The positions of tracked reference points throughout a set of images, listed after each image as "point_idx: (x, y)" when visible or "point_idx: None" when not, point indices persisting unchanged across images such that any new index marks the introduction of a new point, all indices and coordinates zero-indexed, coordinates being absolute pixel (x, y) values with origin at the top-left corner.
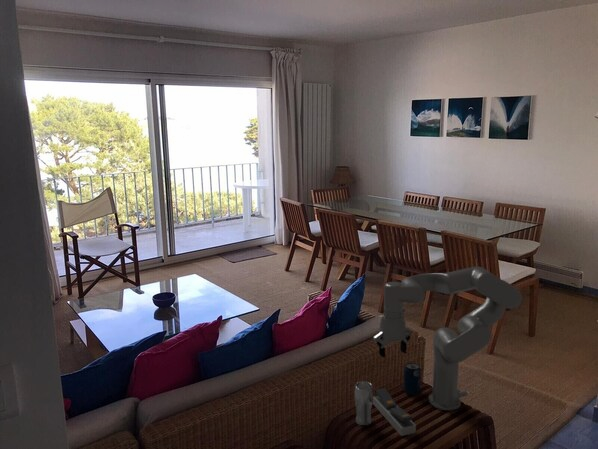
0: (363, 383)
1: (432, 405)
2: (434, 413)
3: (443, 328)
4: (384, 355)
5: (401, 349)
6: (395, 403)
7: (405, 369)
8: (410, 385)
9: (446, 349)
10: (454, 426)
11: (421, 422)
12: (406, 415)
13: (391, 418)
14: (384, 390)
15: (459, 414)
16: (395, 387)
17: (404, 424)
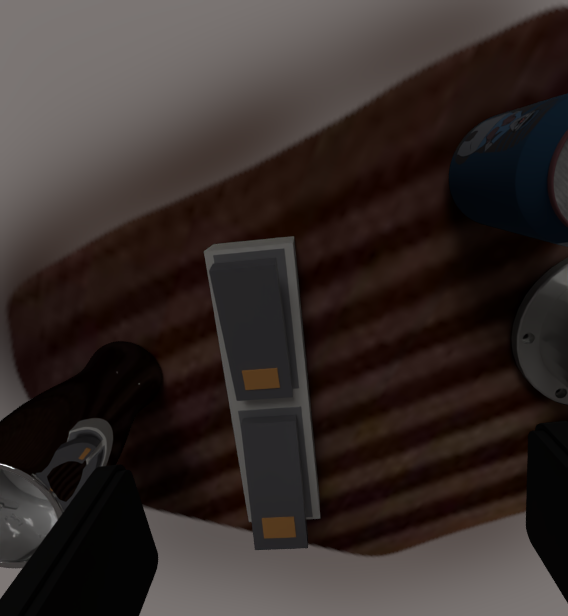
0: (16, 455)
1: (512, 345)
2: (479, 397)
3: None
4: (136, 596)
5: (545, 483)
6: (288, 391)
7: (526, 172)
8: (486, 219)
9: None
10: (499, 495)
11: (379, 441)
12: (283, 529)
13: (237, 444)
14: (264, 285)
15: None
16: (421, 92)
17: None
